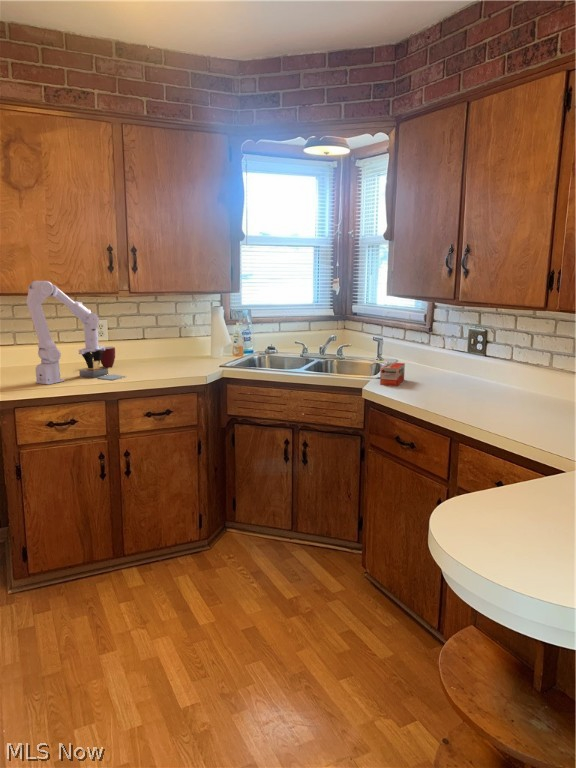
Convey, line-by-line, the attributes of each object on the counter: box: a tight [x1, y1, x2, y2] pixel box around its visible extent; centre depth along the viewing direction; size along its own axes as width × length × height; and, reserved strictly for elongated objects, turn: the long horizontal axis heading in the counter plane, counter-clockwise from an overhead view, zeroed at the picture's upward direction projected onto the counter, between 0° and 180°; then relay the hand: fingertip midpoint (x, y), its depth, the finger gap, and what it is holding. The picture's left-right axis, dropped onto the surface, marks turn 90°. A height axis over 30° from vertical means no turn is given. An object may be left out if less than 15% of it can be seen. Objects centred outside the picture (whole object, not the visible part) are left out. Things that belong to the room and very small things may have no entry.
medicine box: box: [379, 361, 406, 387], centre depth 243 cm, size 15×8×8 cm, turn 158°
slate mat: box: [96, 373, 126, 381], centre depth 253 cm, size 9×9×1 cm
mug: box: [100, 346, 116, 369], centre depth 279 cm, size 10×8×10 cm
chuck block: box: [78, 367, 109, 379], centre depth 257 cm, size 9×9×3 cm
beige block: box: [87, 359, 100, 371], centre depth 257 cm, size 4×4×7 cm
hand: (93, 367), depth 256 cm, fingers closed on beige block, 3 cm apart
